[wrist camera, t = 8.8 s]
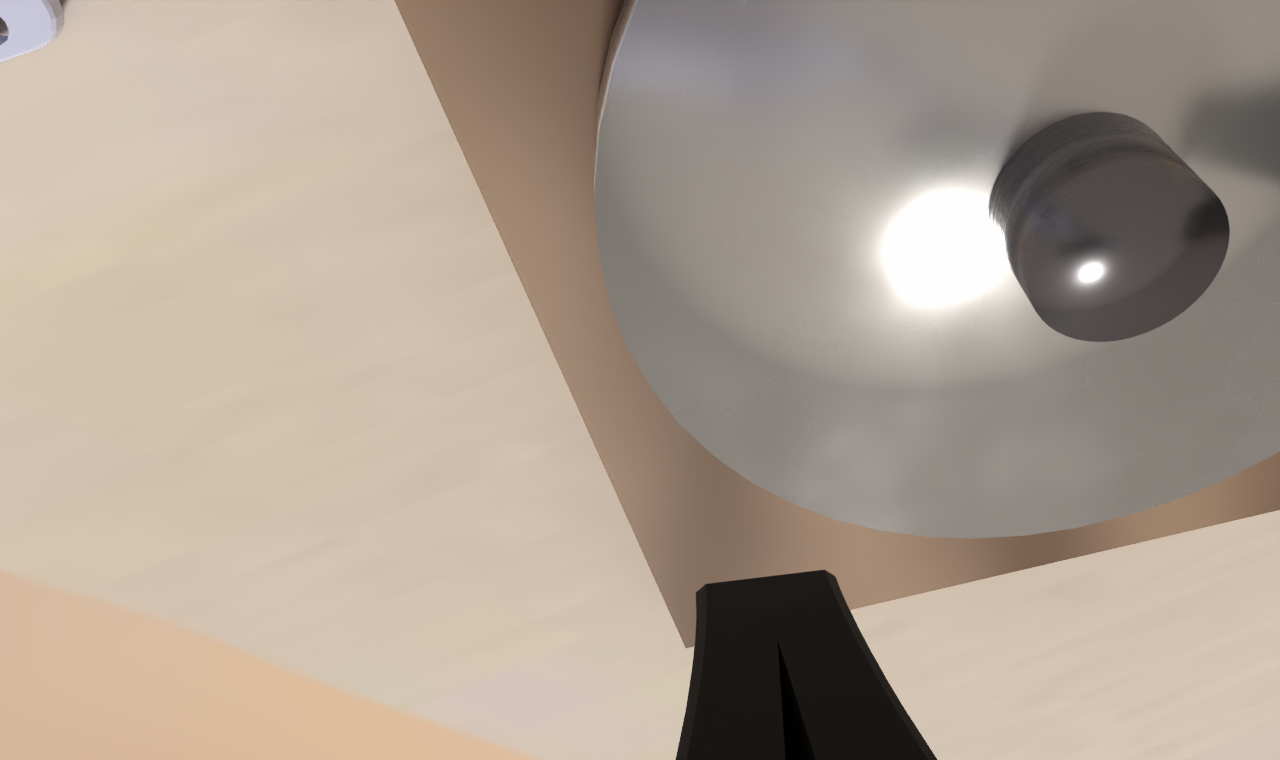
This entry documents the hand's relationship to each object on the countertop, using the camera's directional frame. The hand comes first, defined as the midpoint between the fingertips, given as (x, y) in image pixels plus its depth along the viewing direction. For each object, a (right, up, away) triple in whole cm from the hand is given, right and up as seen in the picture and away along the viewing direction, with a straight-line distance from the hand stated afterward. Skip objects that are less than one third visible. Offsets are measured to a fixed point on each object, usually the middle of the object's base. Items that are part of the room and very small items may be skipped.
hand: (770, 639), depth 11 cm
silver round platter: (+5, +7, +5) cm, 10 cm away
